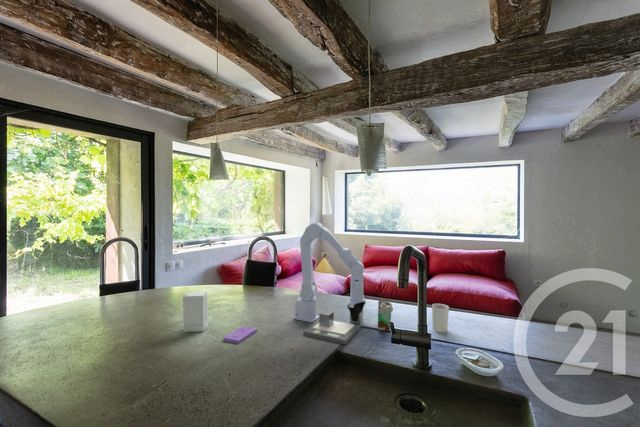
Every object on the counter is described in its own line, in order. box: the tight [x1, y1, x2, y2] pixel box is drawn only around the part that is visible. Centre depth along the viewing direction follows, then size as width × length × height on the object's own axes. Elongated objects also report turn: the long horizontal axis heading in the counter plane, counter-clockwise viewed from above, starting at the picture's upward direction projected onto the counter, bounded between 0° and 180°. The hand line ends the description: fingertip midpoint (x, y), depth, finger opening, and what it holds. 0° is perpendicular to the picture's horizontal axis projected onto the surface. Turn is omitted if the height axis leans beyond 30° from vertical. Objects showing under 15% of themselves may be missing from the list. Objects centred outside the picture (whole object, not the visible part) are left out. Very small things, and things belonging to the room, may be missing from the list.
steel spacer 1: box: [318, 310, 335, 327], centre depth 128 cm, size 4×4×5 cm
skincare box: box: [182, 291, 209, 333], centre depth 126 cm, size 8×6×15 cm
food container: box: [377, 299, 394, 333], centre depth 131 cm, size 12×6×10 cm, turn 168°
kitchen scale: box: [303, 320, 361, 345], centre depth 125 cm, size 18×16×2 cm
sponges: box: [222, 326, 258, 345], centre depth 121 cm, size 7×13×2 cm, turn 159°
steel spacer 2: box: [349, 310, 364, 326], centre depth 137 cm, size 4×4×5 cm
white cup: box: [431, 303, 450, 333], centre depth 129 cm, size 7×7×10 cm
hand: (356, 319), depth 137 cm, fingers closed on steel spacer 2, 4 cm apart
